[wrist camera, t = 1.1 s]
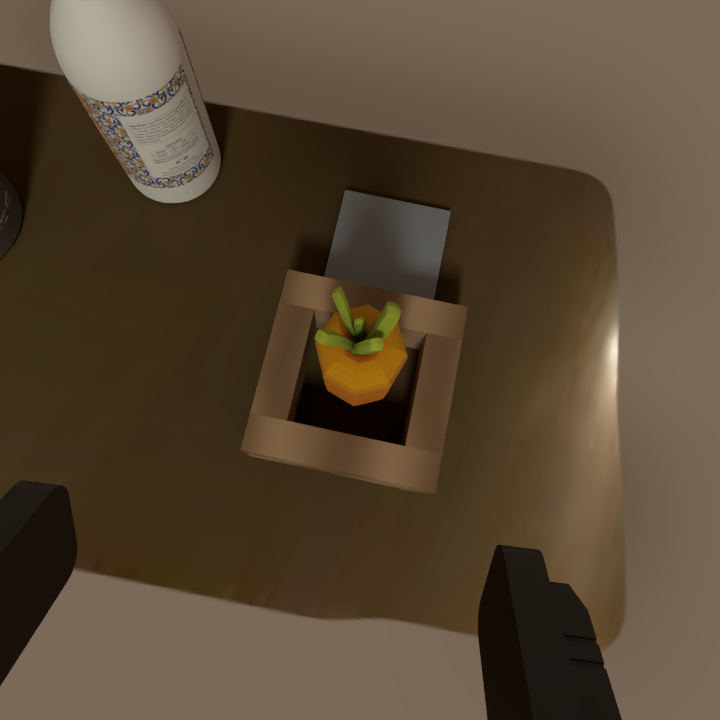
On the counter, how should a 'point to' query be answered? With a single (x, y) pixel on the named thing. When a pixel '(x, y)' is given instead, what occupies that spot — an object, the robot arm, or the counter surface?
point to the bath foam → (139, 92)
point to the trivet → (388, 244)
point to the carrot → (361, 350)
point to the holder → (340, 450)
